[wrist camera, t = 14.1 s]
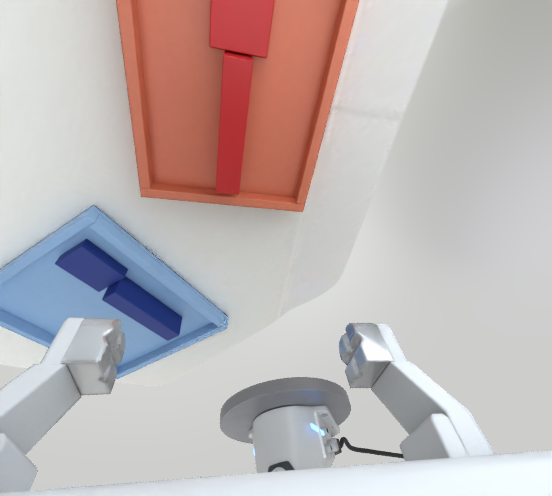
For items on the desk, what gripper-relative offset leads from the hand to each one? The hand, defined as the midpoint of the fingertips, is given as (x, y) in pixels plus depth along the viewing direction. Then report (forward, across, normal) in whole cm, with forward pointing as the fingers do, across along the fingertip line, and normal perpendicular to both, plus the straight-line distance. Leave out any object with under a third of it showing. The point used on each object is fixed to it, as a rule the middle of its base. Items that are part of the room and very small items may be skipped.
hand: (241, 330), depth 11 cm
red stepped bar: (+16, +1, -4) cm, 17 cm away
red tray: (+17, +1, -5) cm, 18 cm away
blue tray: (+17, +13, +19) cm, 29 cm away
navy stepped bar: (+17, +9, +16) cm, 25 cm away
